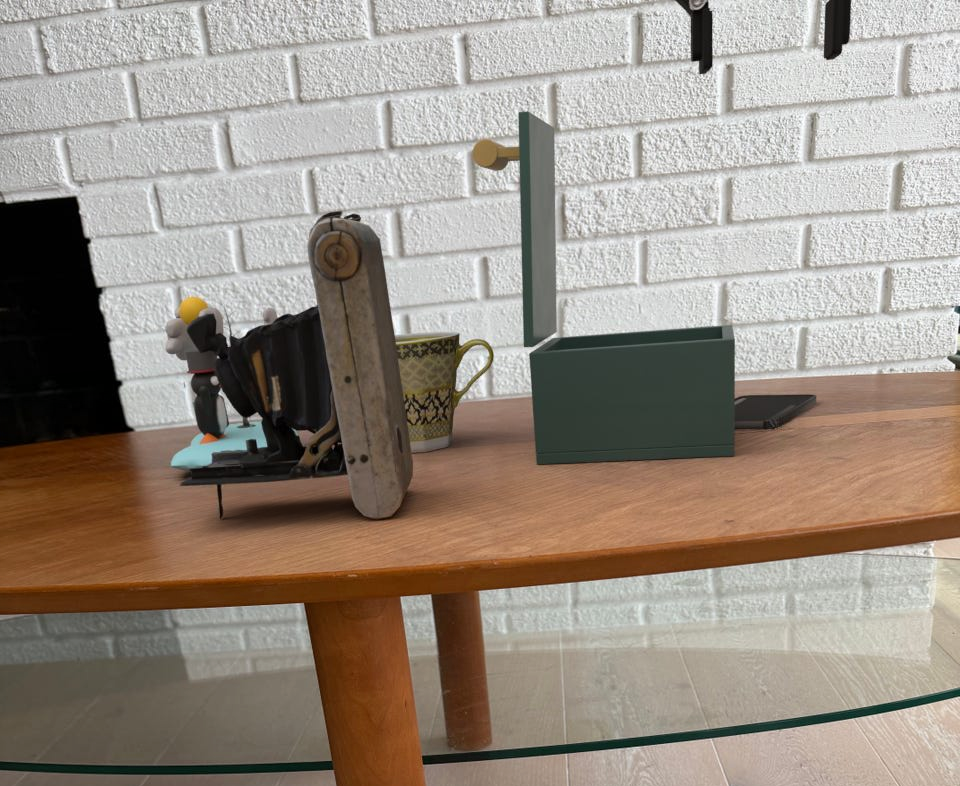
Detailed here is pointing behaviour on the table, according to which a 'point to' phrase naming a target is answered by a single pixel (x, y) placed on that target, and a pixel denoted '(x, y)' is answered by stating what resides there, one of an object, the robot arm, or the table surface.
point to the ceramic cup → (432, 384)
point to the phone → (769, 410)
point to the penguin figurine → (208, 390)
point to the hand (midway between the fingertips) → (768, 64)
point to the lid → (532, 219)
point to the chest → (635, 396)
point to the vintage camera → (320, 380)
